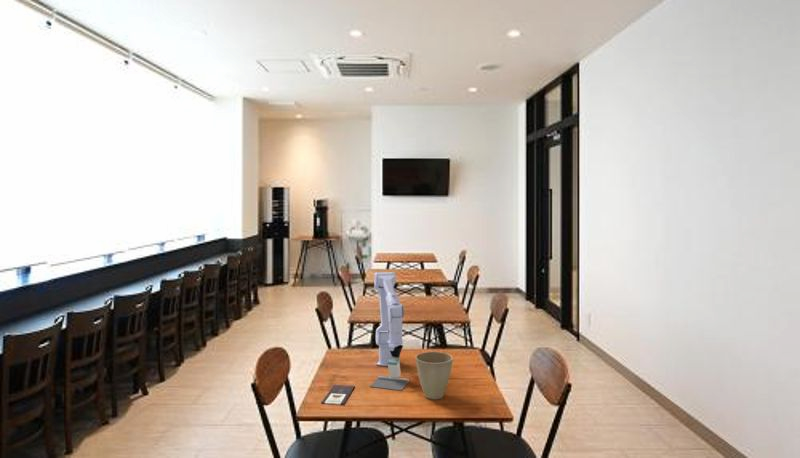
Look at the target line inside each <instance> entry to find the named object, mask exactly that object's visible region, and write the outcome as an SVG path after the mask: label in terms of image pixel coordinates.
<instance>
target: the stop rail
mask: <svg viewBox="0 0 800 458" xmlns="http://www.w3.org/2000/svg"><path fill="white" fill-rule="evenodd" d="M377 379H383V380H392V381H400V382H408V383H409V382H410V379H409V378H401V377H399V378H396V377H389V376H386V375H385V376H384V375H378V376H377ZM377 379H376V380H377Z"/></svg>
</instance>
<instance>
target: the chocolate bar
mask: <svg viewBox="0 0 800 458" xmlns="http://www.w3.org/2000/svg"><path fill="white" fill-rule="evenodd" d="M354 389H355V385H339V384H333V385H332V386H331V388H330V390H329V391H328V393H327V394H326V395H325V396H324V398H323V399H322V400H321V404H322V405H323V404H324V405H334V406H335V405H338V406H344V405H345V404H346V402H347V401H348V399H349V397H350V396H351V394H352V393H353V391H354Z"/></svg>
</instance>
